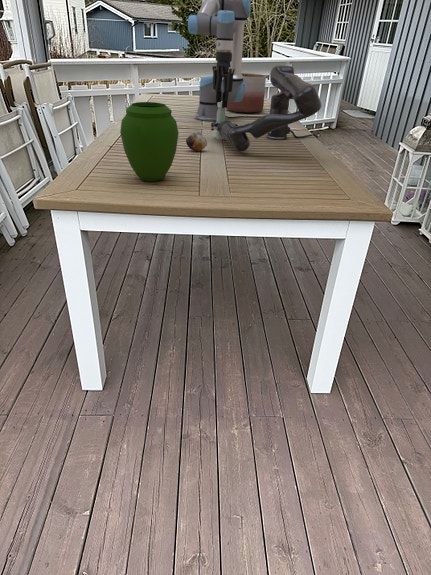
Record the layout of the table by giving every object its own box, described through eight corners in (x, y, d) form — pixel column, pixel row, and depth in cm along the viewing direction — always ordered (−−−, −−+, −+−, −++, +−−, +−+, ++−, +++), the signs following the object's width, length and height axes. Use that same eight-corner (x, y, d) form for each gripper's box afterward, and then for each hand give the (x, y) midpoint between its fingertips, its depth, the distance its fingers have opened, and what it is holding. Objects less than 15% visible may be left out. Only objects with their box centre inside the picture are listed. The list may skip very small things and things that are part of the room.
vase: (131, 189, 135) (125, 110, 122) (118, 172, 150) (112, 100, 137) (186, 184, 142) (187, 109, 129) (169, 168, 157) (167, 99, 144)
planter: (267, 114, 272) (271, 77, 261) (229, 113, 268) (232, 76, 257) (257, 108, 294) (260, 73, 282) (223, 107, 289) (224, 72, 278)
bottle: (225, 139, 206) (227, 104, 197) (219, 139, 204) (220, 104, 195) (220, 137, 209) (222, 103, 200) (214, 138, 206) (215, 103, 198)
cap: (217, 107, 196) (218, 103, 195) (216, 106, 200) (216, 101, 199) (226, 107, 197) (226, 103, 196) (224, 106, 200) (225, 102, 199)
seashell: (206, 149, 186) (206, 130, 181) (207, 152, 181) (208, 133, 177) (185, 148, 184) (185, 130, 180) (186, 152, 180) (186, 133, 175)
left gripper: (206, 50, 189) (204, 104, 202) (230, 52, 178) (226, 110, 191) (218, 50, 193) (216, 103, 206) (242, 52, 182) (238, 109, 195)
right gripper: (213, 139, 191) (205, 131, 205) (242, 139, 195) (232, 131, 209) (214, 122, 187) (205, 115, 201) (243, 122, 191) (233, 115, 205)
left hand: (221, 106), depth 198 cm, fingers closed on cap, 4 cm apart
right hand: (219, 123), depth 205 cm, fingers closed on bottle, 4 cm apart
